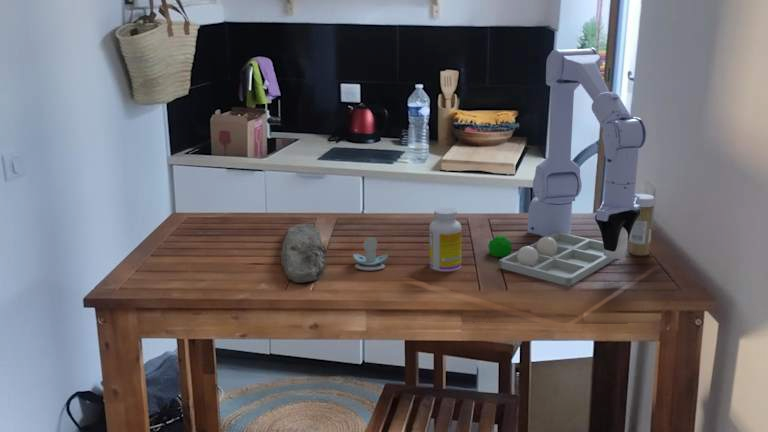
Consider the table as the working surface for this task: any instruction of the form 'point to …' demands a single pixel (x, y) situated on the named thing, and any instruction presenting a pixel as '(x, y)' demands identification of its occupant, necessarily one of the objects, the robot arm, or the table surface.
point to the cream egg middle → (547, 246)
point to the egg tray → (562, 260)
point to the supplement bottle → (445, 240)
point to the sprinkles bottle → (642, 227)
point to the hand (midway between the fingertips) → (615, 246)
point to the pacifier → (370, 257)
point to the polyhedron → (500, 247)
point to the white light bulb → (619, 246)
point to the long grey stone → (303, 253)
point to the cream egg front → (527, 256)
